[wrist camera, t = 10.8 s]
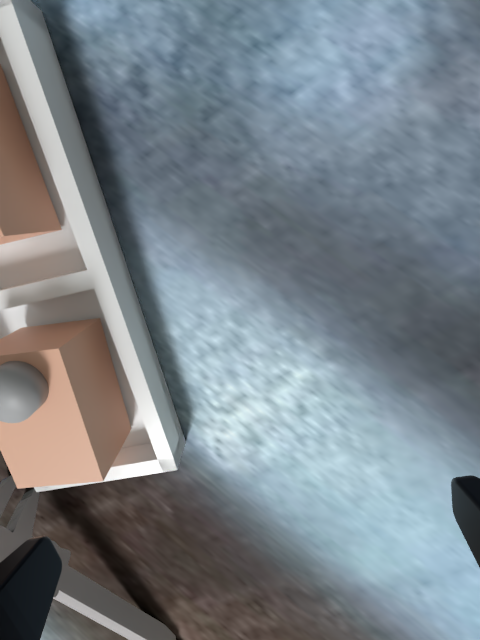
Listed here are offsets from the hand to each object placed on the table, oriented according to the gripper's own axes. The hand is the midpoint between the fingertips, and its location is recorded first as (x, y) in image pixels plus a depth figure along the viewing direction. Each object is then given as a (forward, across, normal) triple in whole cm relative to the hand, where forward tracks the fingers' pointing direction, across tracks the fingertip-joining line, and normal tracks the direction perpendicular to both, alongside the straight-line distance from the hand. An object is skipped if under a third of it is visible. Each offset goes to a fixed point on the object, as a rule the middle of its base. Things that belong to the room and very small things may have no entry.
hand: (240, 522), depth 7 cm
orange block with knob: (+11, +10, 0) cm, 15 cm away
